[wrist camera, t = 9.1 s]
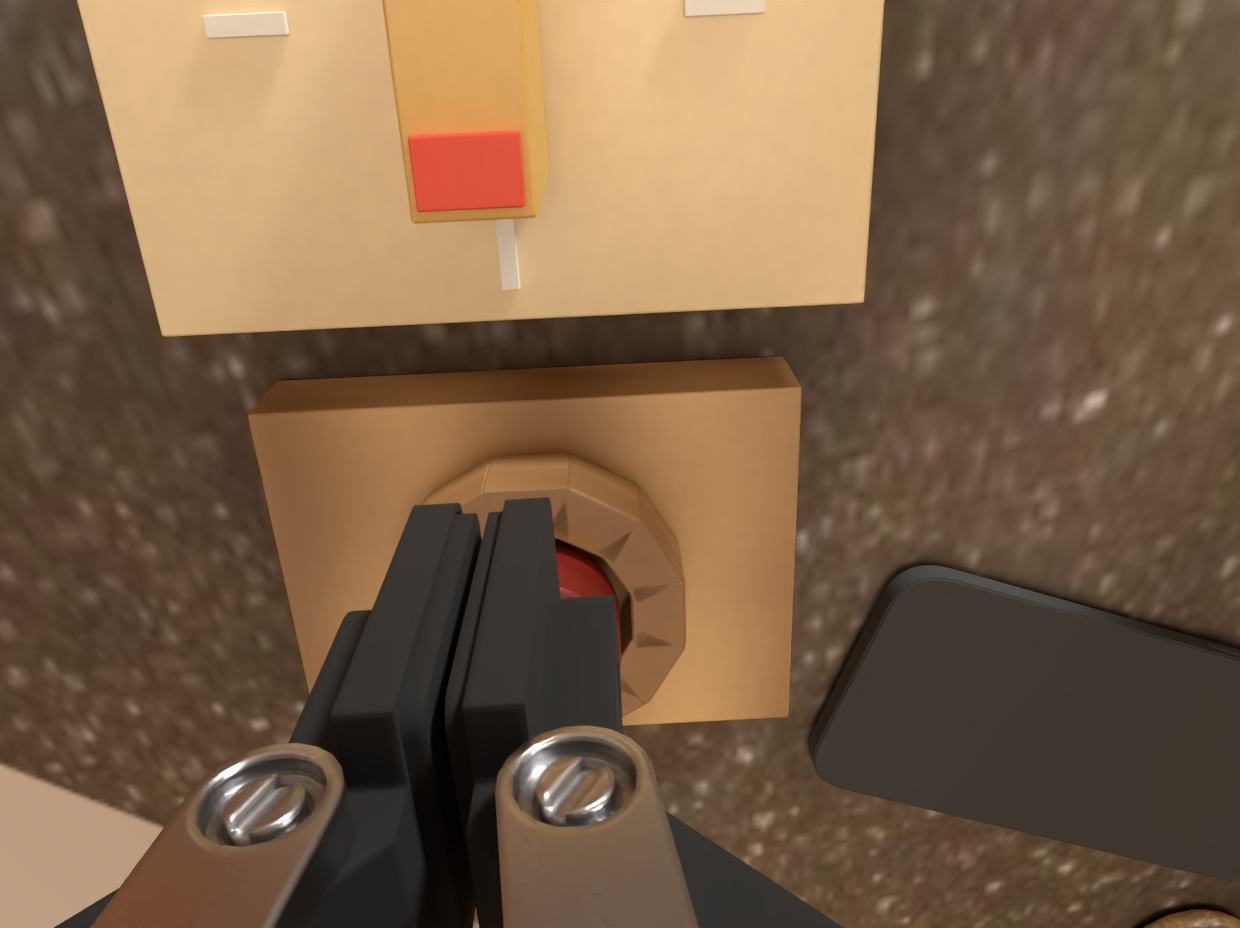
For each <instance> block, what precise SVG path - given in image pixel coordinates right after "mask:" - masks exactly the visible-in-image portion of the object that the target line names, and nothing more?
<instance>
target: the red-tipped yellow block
mask: <svg viewBox="0 0 1240 928" xmlns="http://www.w3.org/2000/svg"><path fill="white" fill-rule="evenodd" d="M382 5H383V12H384V20H385V27H386V35H387V42H388V50H389V57H390V65H391V72H392V80H393V87H394V95H395V102H396V110H397V117H398V125H399V132H400V140H401V147H402V155H403V162H404V170H405V177H406V185H407V192H408V200H409V207H410V215H411V220H412V222H413V223H415V224H418V223H439V222H459V221H480V220H500V219H521V218H534V217H536V216H537V212H538V209H539V205H540V202H541V199H542V195H543V192H544V189H545V185H546V182H547V178H548V175H549V164H548V150H547V136H546V122H545V108H544V94H543V80H542V66H541V52H540V38H539V24H538V10H537V0H382Z"/></svg>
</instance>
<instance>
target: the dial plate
mask: <svg viewBox="0 0 1240 928" xmlns="http://www.w3.org/2000/svg"><path fill="white" fill-rule="evenodd" d="M884 1H885V0H537V10H538V24H539V38H540V52H541V66H542V80H543V94H544V108H545V122H546V136H547V150H548V164H549V175H548V178H547V182H546V185H545V189H544V192H543V195H542V199H541V202H540V205H539V209H538V212H537V216H536V217H534V218H521V219H500V220H480V221H459V222H439V223H418V224H415V223H413V222H412V220H411V215H410V207H409V200H408V192H407V185H406V177H405V170H404V162H403V155H402V147H401V140H400V132H399V125H398V117H397V110H396V102H395V95H394V87H393V80H392V72H391V65H390V57H389V50H388V42H387V35H386V27H385V20H384V12H383V5H382V0H77V2H78V6H79V10H80V14H81V18H82V21H83V25H84V29H85V33H86V37H87V41H88V45H89V49H90V53H91V57H92V61H93V65H94V69H95V73H96V77H97V81H98V85H99V89H100V92H101V96H102V100H103V104H104V108H105V112H106V116H107V120H108V124H109V128H110V132H111V136H112V140H113V144H114V148H115V152H116V156H117V160H118V163H119V167H120V171H121V175H122V179H123V183H124V187H125V191H126V195H127V199H128V203H129V207H130V211H131V215H132V219H133V223H134V227H135V231H136V234H137V238H138V242H139V246H140V250H141V254H142V258H143V262H144V266H145V270H146V274H147V278H148V282H149V286H150V290H151V294H152V298H153V302H154V305H155V309H156V313H157V317H158V321H159V325H160V329H161V333H162V335H163V336H165V337H169V336H189V335H210V334H230V333H251V332H272V331H292V330H313V329H334V328H354V327H375V326H396V325H416V324H437V323H457V322H478V321H499V320H519V319H540V318H561V317H581V316H602V315H622V314H643V313H664V312H684V311H705V310H726V309H746V308H767V307H788V306H808V305H829V304H849V303H862V302H863V301H864V294H865V279H866V264H867V250H868V235H869V220H870V206H871V191H872V176H873V162H874V147H875V132H876V118H877V103H878V88H879V74H880V59H881V44H882V30H883V15H884Z"/></svg>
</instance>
